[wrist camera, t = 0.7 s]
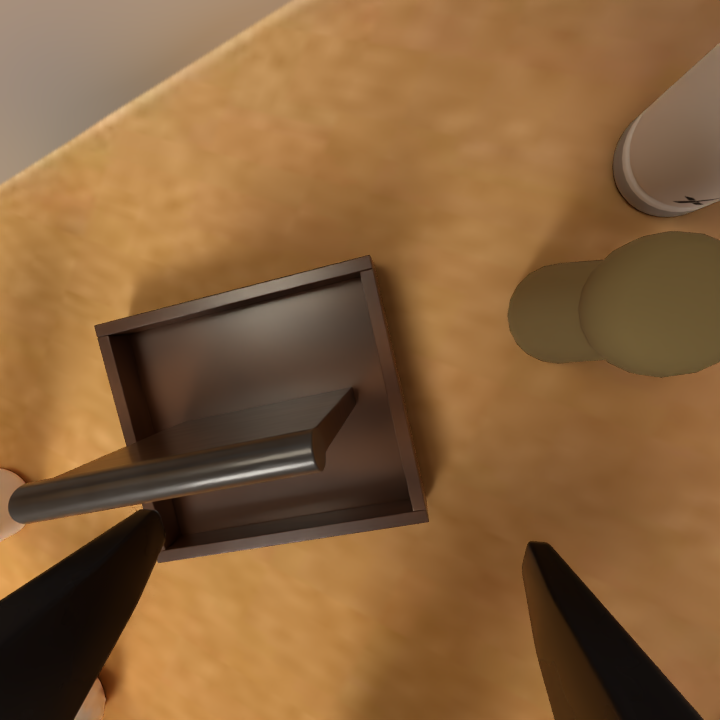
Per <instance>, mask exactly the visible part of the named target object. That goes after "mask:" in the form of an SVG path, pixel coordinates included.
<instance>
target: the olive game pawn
mask: <svg viewBox="0 0 720 720" xmlns="http://www.w3.org/2000/svg"><path fill="white" fill-rule="evenodd" d="M508 322H509V328H510V331H511V333H512V335H513V337H514V339H515V341H516V343H517V344H518V345H519V346H520V347H521V348H522V349H523V350H524V351H525V352H526V353H527V354H528V355H531V356H533V357H535V358H537V359H539V360H541V361H546V362H553V363H568V362H582V361H595V360H606V361H607V362H608V363H610V364H613V365H615V366H617V367H619V368H621V369H623V370H625V371H627V372H630V373H635V374H639V375H647V376H654V377H661V378H662V377H669V376H676V375H683V374H689V373H696V372H698V371H701V370H703V369H705V368H707V367H709V366H712V365H714V364H716V363H718V362H720V241H719V240H717V239H715V238H712V237H710V236H708V235H705V234H700V233H690V232H680V231H669V232H663V233H658V234H653V235H648V236H643V237H641V238H638V239H636V240H634V241H632V242H630V243H628V244H626V245H624V246H622V247H620V248H618V249H616V250H614V251H613V252H612V253H610V254H609V255H608V256H607V257H606V258H605V259H604V260H595V261H583V262H570V263H559V264H554V265H549V266H544V267H542V268H540V269H538V270H536V271H534V272H532V273H531V274H529V275H528V276H527V277H526V278H525V279H524V280H523V281H522V282H521V283H520V284H519V285H518V286H517V288H516V290H515V292H514V294H513V295H512V297H511V299H510V304H509V310H508Z"/></svg>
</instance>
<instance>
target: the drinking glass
mask: <svg viewBox="0 0 720 720" xmlns="http://www.w3.org/2000/svg"><path fill="white" fill-rule="evenodd" d="M23 484H26V483H25V482H24V481H23V480H22V479H21V478H20V477H19V476H18V475H17V474H15V473H13V472H11V471H9V470H6V469H0V542H1V541H3V540H5V539H7V538H8V537H10V536H12V535H14V534H16V533H17V532H18V531H20V530H21V529H22V528H23V527H24V526H25V525H26V524H21V523H18V522H16V521H14V520H13V519H12V518H11V516H10V515H9V512H8V502H9V499H10V497H11V495H12V493H13V492H14V491H15V490H16V489H17V488H18V487H20V486H21V485H23Z"/></svg>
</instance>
